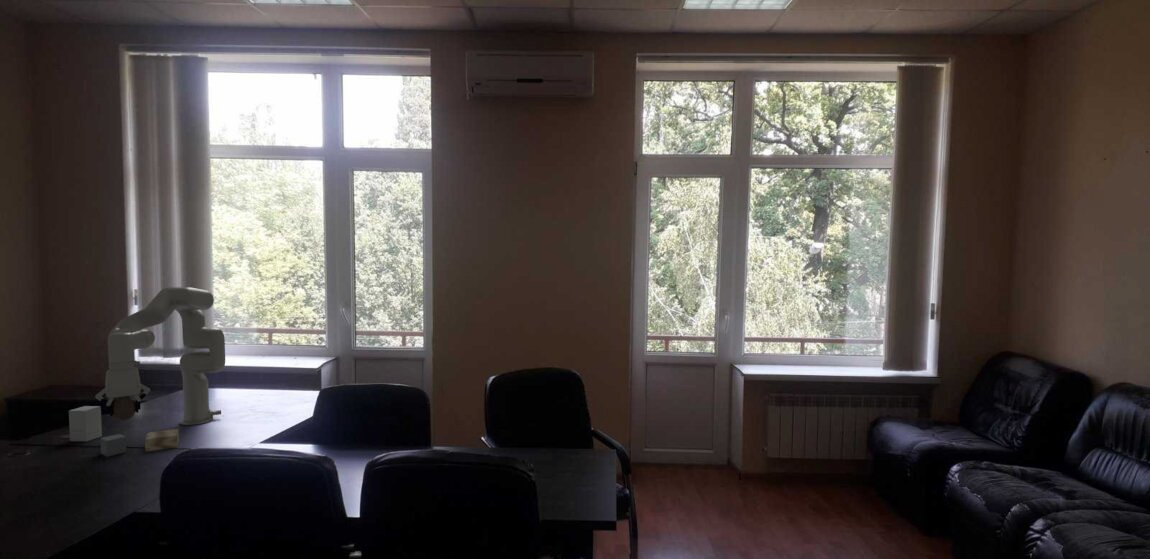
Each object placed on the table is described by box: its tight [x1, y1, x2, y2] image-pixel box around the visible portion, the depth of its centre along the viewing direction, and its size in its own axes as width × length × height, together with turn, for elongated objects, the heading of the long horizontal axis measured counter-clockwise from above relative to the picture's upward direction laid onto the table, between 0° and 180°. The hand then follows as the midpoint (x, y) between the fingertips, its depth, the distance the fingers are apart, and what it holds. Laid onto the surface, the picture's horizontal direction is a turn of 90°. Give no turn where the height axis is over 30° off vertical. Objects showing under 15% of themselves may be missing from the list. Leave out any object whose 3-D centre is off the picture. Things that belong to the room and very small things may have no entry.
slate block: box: [100, 433, 127, 457], centre depth 219 cm, size 6×6×6 cm
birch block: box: [144, 428, 180, 452], centre depth 227 cm, size 10×10×5 cm
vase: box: [112, 396, 137, 421], centre depth 213 cm, size 7×7×9 cm
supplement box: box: [68, 405, 103, 442], centre depth 235 cm, size 7×7×13 cm
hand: (124, 413), depth 213 cm, fingers closed on vase, 6 cm apart
